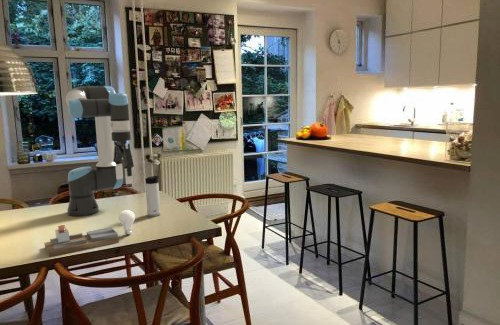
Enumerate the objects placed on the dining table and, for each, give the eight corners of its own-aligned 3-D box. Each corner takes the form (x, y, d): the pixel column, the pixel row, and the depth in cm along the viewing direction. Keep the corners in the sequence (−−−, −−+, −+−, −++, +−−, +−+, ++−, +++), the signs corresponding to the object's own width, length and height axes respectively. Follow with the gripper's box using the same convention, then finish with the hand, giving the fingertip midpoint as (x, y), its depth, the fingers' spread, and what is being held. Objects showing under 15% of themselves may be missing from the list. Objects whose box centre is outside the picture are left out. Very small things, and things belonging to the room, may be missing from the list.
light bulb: (139, 234, 178) (137, 209, 176) (125, 238, 173) (123, 213, 171) (130, 231, 182) (129, 207, 180) (117, 235, 177) (115, 210, 175)
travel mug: (157, 217, 203) (155, 177, 199) (145, 216, 204) (142, 177, 201) (162, 213, 209) (160, 174, 206) (150, 213, 210) (148, 174, 207)
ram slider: (56, 242, 163) (54, 225, 162) (67, 239, 166) (65, 223, 164) (59, 246, 158) (57, 229, 157) (70, 244, 161) (68, 227, 160)
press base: (44, 247, 164) (44, 239, 164) (110, 234, 178) (110, 226, 178) (49, 256, 154) (48, 248, 154) (118, 242, 168) (118, 234, 168)
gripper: (103, 130, 178) (107, 178, 182) (120, 133, 158) (124, 187, 161) (121, 129, 182) (124, 176, 186) (139, 132, 162) (143, 184, 165)
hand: (124, 181), depth 173 cm, fingers open, 13 cm apart
